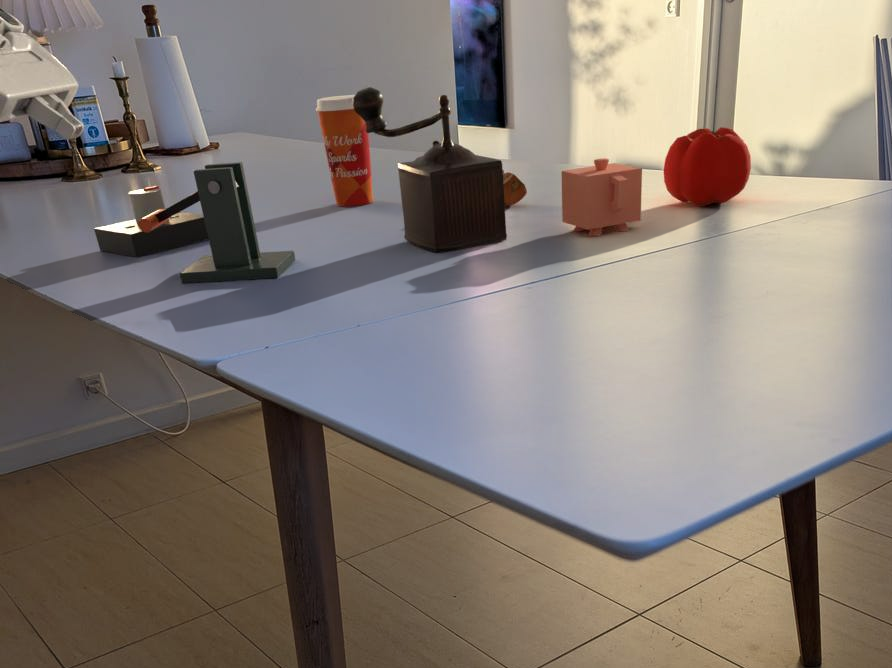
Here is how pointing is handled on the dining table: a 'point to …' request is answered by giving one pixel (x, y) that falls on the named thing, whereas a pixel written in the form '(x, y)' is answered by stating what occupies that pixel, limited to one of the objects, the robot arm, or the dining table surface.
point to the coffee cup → (346, 150)
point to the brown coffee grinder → (443, 185)
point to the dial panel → (151, 235)
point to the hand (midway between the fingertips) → (77, 133)
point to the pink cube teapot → (601, 196)
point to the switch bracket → (231, 231)
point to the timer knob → (146, 202)
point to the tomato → (707, 166)
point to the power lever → (168, 212)
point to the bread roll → (513, 189)
